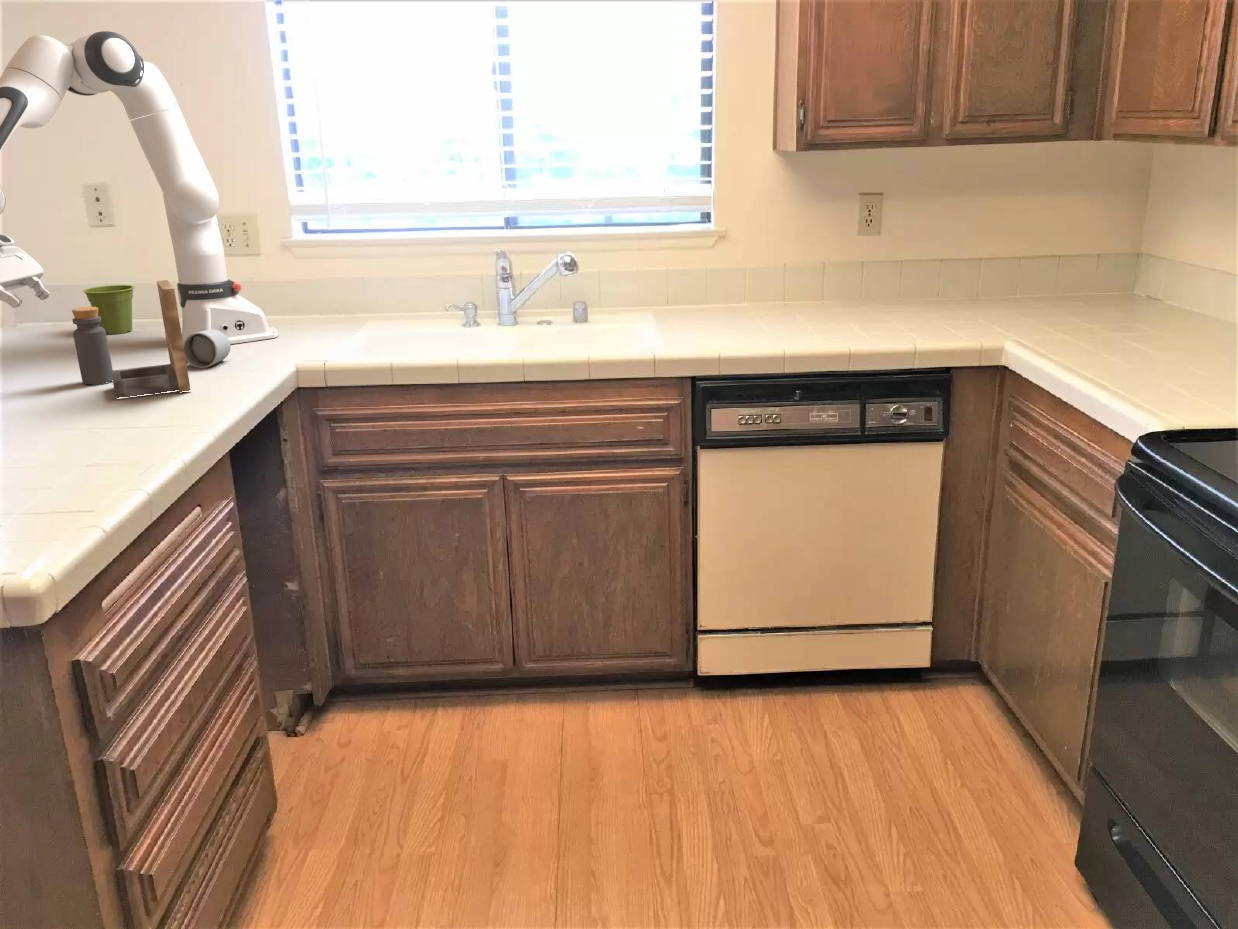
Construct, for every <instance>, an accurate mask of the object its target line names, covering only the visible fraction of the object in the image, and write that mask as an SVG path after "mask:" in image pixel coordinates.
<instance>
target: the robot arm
mask: <svg viewBox="0 0 1238 929" xmlns="http://www.w3.org/2000/svg"><path fill="white" fill-rule="evenodd" d="M67 91H68V92H70V93H72V94H75V95H79V96H88V97H89V96H95V95H97V94H102V93H106V92H109V91H110V92H112V93H113V94H114V95H115V96H116V97H117V98H118V100H119V101H120V102H121V104H122V105H123V107H124V108H123V109H124V110H125V113H126V114H127V118H128V119H129V122H130V124H131V126H132V130H133V131H134V134H135V136H136V138H137V140H138V142H139V144H140V145H139V146H140V147H141V150H142V151H143V154H144V157H145V158H146V159H147V163H148V164H149V167H150V168H151V170H152V172H153V174H154V177H155V178H156V181H157V182H158V185H159V187H160V189H161V191H162V197H163V203H164V208H165V215H166V219H167V224H168V229H169V235H170V239H171V244H172V248H173V254H174V259H175V260H174V262H175V267H176V268H175V269H176V274H177V278H178V279H177V280H178V282H177V284H176V285H177V288H176V290H177V296H178V303H179V305H180V308H181V313H182V320H181V321H182V322H181V324H182V326H181V327H182V328H181V333H182V339H183V343H184V341H185V339H186V338H187V337H188V336H189V335H191V334H192V333H196V332H201V331H205V330H211V329H212V330H218V331H220V332H222V333H224V334H225V335H226V336H227V338H228V339H229V341H230V345H234V344H240V343H242V344H243V343H249V342H254V341H261V340H268V339H275V338H277V337H278V336H279V335H280V333H279V331H278V328H276V327H273V326H269V322H268V318H267V316H266V314H265V312H264V310H263V309H262V308H260V307H259V306H257V305H256V304H254V303H253V302H251V301H250V300H248V299H246V298H245V297H243V296H241V295H239V293H240V292H242V290H243V286H242V284H241V283H240V282H235V281H234V280H231V279H229V278H228V270H227V262H226V257H225V249H224V244H223V240H222V236H221V231H220V227H219V222H218V217H217V213H218V210H219V208H220V196H219V192H218V191H217V190H218V189H217V188H216V186H215V183H214V181H213V179H212V177H211V175H210V172H209V170H208V169H207V166H206V164H205V162H204V160H203V157H202V156H201V153H200V151H199V149H198V147H197V145H196V143H195V141H194V139H193V137H192V134H191V132H190V129H189V127H188V124H187V122H186V120H185V118H184V115H183V113H182V111H181V108H180V106H179V103H178V101H177V98H176V96H175V95H174V93H173V91H172V89H171V87H170V85H169V84H168V82H167V80H166V78H165V76H164V75H163V74H162V72H161V71H160V69H159V68H158V67H157V66H156V65H154V64H153V63H152V62H148V61H144V59H143V57H142V56H141V55H140V54H139V53H138V50H137V49H136V47H135V46H134V45H133V44H132V43H131V42H130V41H129V40H128V39H127V38H126V37H125V36H123V35H122V34H120V33H118V32H114V31H109V30H108V31H106V30H105V31H97V32H94V33H92V34H87V35H84V36H82V37H79V38H77V39H75V41H73V42H71V43H69V44H66V45H65V44H63V43H62V42H61V41H59V40H57V39H56V38H54V37H52V36H49V35H44V34H34V35H32V36H29V38H27V39H26V40H25V41H24V42H23V43H22V44H21V46H19V48H18V49H17V50H16V51H15V53H14V54H13V56H11V58H10V60H9V61H8V63H7V64H6V65H5V68H4V70H3V72H2V74H1V76H0V154H1V152H2V150H3V149H4V148H5V146H6V144H7V143H8V141H9V139H10V138H11V137H12V135H13V134H14V132H15V131H16V129H18V128H19V127H21V128H24V129H25V128H26V129H38V128H42V127H44V126H46V125H47V124H48V122H49V121H50V120H51V119H52V118H53V117H54V115H55V114H56V112H57V111H58V109H59V107H60V105H61V104H62V102H63V99H64V97H65V95H66V93H67ZM5 206H6V196H5V193H4V190H3V188H2V185H1V184H0V215H2V213H3V211H4V210H5ZM15 243H16V242H15V240H14V239H13V238H12V237H10V236H9V235H5V234H0V301H1V302H3V303H5V304H7V305H8V306H10V307H11V308H13V309H15V308H18V307H20V306H21V304H22V303H23V300H22V298H19V296H18V295H17V294H14V295H13V294H12V293H10V292H8V291H10V290H11V291H12V290H14V289H19V288H23V287H26V286H27V287H28V288H29V289H33V291H34V292H35V294H34V296H36V298H38V299H39V300H40V301H41V300H42V301H44V300H47V299H48V298H49V297H50V296H51V292H49V290H47V289H46V288H45V287H44V285H43V283H42V281H41V279H42V276H43V275H44V274H45V270H44V268H43V267H42V265H41V264H39V263H38V261H36V260H35V259H34V258H33V257H32V256H30V254H28V253H27V252H26V251H25V250H24V249H22V248H21V247H20V246H18V245H17V246H16V245H14V244H15Z"/></svg>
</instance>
